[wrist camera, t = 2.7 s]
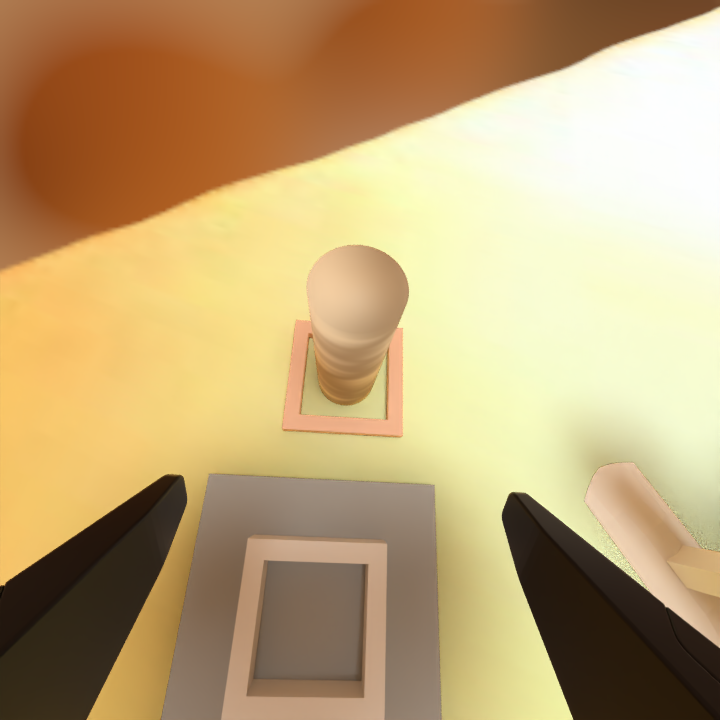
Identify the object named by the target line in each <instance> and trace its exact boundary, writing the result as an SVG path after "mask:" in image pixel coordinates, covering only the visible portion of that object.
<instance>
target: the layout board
mask: <svg viewBox="0 0 720 720" xmlns="http://www.w3.org/2000/svg"><path fill="white" fill-rule="evenodd" d="M161 720H442V719H441V686H440V653H439V621H438V588H437V556H436V523H435V491H434V485H423V484H404V483H384V482H364V481H344V480H324V479H305V478H285V477H265V476H245V475H225V474H209V478H208V483H207V488H206V493H205V498H204V503H203V508H202V513H201V518H200V523H199V528H198V534H197V539H196V544H195V549H194V554H193V559H192V564H191V569H190V574H189V579H188V584H187V590H186V595H185V600H184V605H183V610H182V615H181V620H180V625H179V630H178V635H177V640H176V646H175V651H174V656H173V661H172V666H171V671H170V676H169V681H168V686H167V691H166V696H165V702H164V707H163V712H162V717H161Z"/></svg>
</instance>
